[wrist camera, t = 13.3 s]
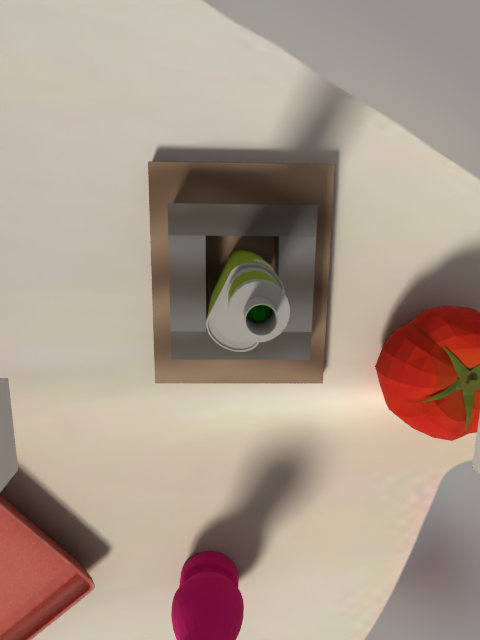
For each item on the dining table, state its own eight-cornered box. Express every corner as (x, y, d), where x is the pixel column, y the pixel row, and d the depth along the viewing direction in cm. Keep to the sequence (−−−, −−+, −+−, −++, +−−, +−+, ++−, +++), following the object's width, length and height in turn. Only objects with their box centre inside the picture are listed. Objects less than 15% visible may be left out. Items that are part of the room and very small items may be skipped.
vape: (273, 259, 41) (316, 300, 21) (243, 317, 42) (256, 407, 22) (237, 240, 40) (246, 264, 21) (206, 299, 41) (188, 374, 22)
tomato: (385, 432, 47) (419, 480, 38) (352, 321, 44) (381, 346, 36) (505, 393, 46) (566, 433, 38) (479, 278, 43) (539, 293, 35)
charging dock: (319, 377, 45) (330, 397, 40) (157, 377, 44) (149, 397, 40) (331, 166, 40) (345, 159, 36) (151, 163, 40) (140, 156, 35)
